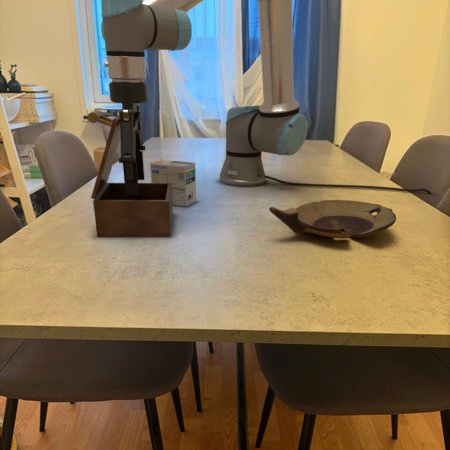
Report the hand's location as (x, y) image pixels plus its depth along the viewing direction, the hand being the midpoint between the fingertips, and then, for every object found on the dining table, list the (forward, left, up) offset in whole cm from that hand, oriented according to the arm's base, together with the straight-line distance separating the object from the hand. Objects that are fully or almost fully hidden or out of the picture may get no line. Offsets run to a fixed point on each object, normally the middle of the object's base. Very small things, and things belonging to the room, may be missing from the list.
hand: (135, 186), depth 97 cm
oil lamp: (-44, +6, -9) cm, 45 cm away
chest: (0, 0, -9) cm, 9 cm away
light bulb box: (-8, -20, -9) cm, 23 cm away
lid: (+5, 0, +7) cm, 8 cm away
